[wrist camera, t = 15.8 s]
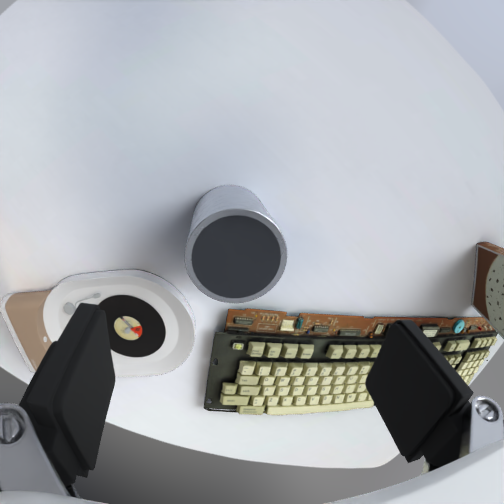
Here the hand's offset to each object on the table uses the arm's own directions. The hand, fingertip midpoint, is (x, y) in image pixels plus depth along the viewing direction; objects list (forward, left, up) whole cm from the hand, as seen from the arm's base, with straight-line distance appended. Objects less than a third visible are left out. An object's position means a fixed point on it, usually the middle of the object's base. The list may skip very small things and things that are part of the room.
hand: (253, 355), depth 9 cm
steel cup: (+1, 0, -17) cm, 17 cm away
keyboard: (+16, +22, -17) cm, 33 cm away
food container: (+2, +34, -17) cm, 38 cm away
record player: (+12, -12, -17) cm, 24 cm away
